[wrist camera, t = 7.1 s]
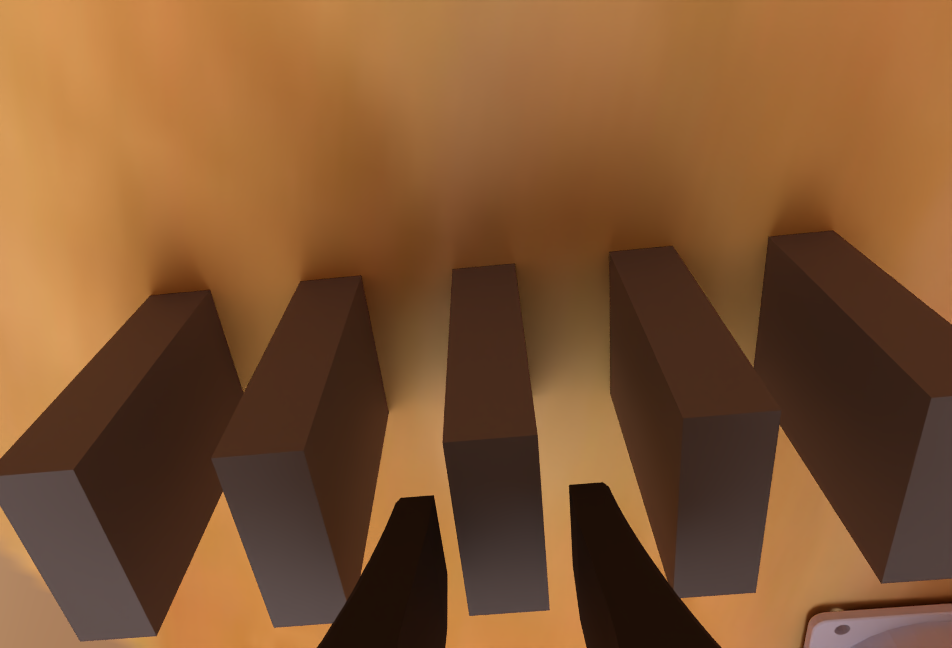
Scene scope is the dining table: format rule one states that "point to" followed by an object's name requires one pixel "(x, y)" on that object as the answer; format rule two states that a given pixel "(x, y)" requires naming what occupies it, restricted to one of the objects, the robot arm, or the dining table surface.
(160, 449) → the tile
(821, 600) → the dining table surface
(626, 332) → the tile
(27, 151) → the dining table surface
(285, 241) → the dining table surface
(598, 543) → the robot arm
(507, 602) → the tile
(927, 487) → the tile
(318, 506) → the tile
